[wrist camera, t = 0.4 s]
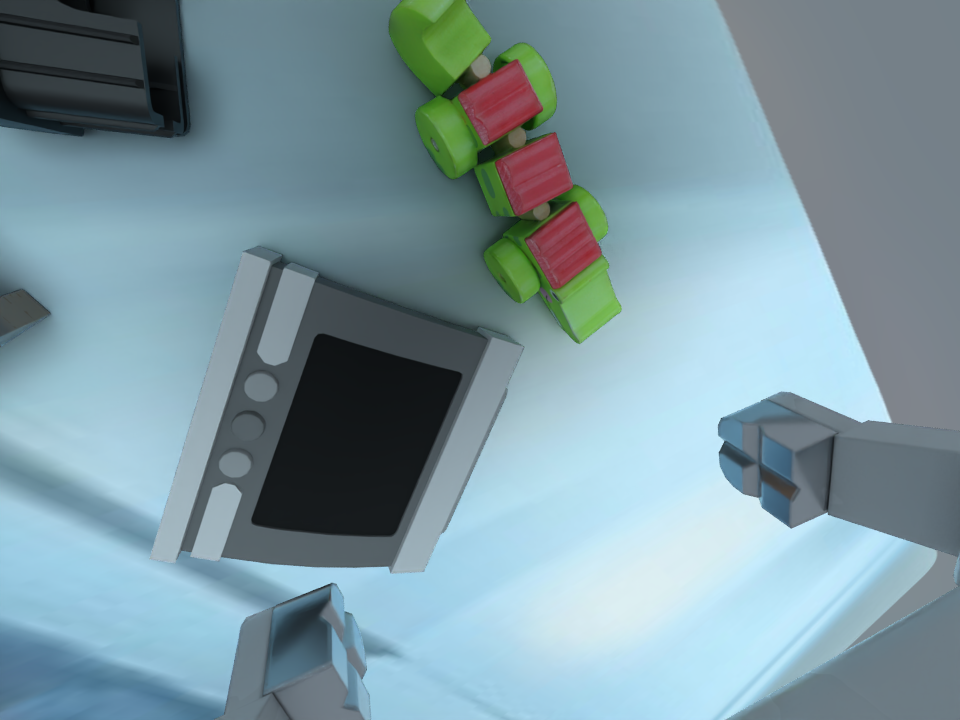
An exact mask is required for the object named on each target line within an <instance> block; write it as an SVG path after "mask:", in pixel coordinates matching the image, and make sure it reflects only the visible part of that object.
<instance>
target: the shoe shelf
mask: <svg viewBox="0 0 960 720" xmlns="http://www.w3.org/2000/svg"><path fill="white" fill-rule="evenodd" d="M49 315H50V313H49V312H48V311H47V310H46V309H45V308H44V307H42V306H41V305H40V304H39V303H38V302H37V301H36V300H35V299H33V298H32V297H31V296H30V295H29V294H28V293H27V292H25V291H24V290H23V289H22V290H18V291H15V292H12V293H9V294H6V295H3V296H0V347H1V346H3V345H4V344H6V343H7V342H9V341H10V340H12V339H13V338H15V337H16V336H18V335H19V334H21V333H23V332H24V331H26V330H27V329H29V328H30V327H32V326H33V325H35V324H36V323H38V322H39V321H41V320H42V319H44V318H46V317H47V316H49Z"/></svg>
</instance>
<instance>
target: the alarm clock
mask: <svg viewBox="0 0 960 720" xmlns="http://www.w3.org/2000/svg"><path fill="white" fill-rule="evenodd" d="M281 257H282V255H281V254H279V253H276V252H273V251H271V250H268V249H265V248H263V247H260V246H257V247H254V248H251V249H248V250H246V251H243V253H242V256H241V260H240V263H239V266H238V269H237V273H236V276H235V279H234V283H233V286H232V289H231V292H230V296H229V299H228V302H227V306H226V309H225V312H224V315H223V319H222V322H221V325H220V329H219V332H218V335H217V338H216V342H215V345H214V348H213V352H212V355H211V358H210V362H209V365H208V368H207V371H206V375H205V378H204V381H203V385H202V388H201V391H200V394H199V398H198V401H197V404H196V408H195V411H194V414H193V417H192V421H191V424H190V427H189V431H188V434H187V437H186V441H185V444H184V447H183V450H182V454H181V457H180V460H179V464H178V467H177V470H176V473H175V477H174V480H173V483H172V487H171V490H170V493H169V496H168V500H167V503H166V506H165V510H164V513H163V516H162V520H161V523H160V526H159V529H158V533H157V536H156V539H155V543H154V546H153V549H152V552H151V556H150V559H151V560H157V561H164V562H170V563H175V562H176V560H177V558H178V556H179V554H180V553H181V551H188V552H192V553H191V556H190V557H195V558H201V559H207V560H214V561H220V558H221V557H224V558H231V559H239V560H246V561H253V562H261V563H268V564H279V565H293V566H306V567H349V568H357V567H387V566H388V567H389V570H390V573H391V574H393V573H411V572H424V570H425V568H426V566H427V563H428V561H429V559H430V557H431V554H432V552H433V550H434V548H435V546H436V543H437V541H438V539H439V537H440V534H442V533H444V531H445V530H446V529H447V527H448V525H449V522H450V520H451V518H452V516H453V514H454V511H455V509H456V507H457V505H458V502H459V500H460V498H461V496H462V494H463V491H464V489H465V487H466V485H467V482H468V480H469V478H470V476H471V473H472V471H473V469H474V467H475V465H476V462H477V460H478V458H479V456H480V453H481V451H482V449H483V447H484V445H485V442H486V440H487V438H488V436H489V433H490V431H491V429H492V427H493V425H494V422H495V420H496V418H497V416H498V413H499V411H500V409H501V407H502V404H503V402H504V400H505V398H506V395H507V385H508V382H509V380H510V378H511V376H512V373H513V371H514V369H515V367H516V365H517V362H518V360H519V358H520V356H521V353H522V351H523V349H524V346H522V345H521V344H519V343H518V342H516V341H515V340H513V339H512V338H510V337H508V336H505V335H502V334H499V333H496V332H493V331H490V330H487V329H484V328H481V327H478V329H477V331H473V330H470V329H467V328H464V327H460V326H457V325H454V324H451V323H448V322H445V321H442V320H439V319H436V318H434V317H431V316H428V315H425V314H422V313H419V312H416V311H413V310H410V309H407V308H404V307H402V306H399V305H396V304H393V303H391V302H388V301H385V300H382V299H379V298H377V297H374V296H371V295H368V294H365V293H363V292H360V291H357V290H355V289H352V288H349V287H346V286H344V285H341V284H338V283H336V282H333V281H330V280H328V279H325V278H322V277H319V276H318V275H319V272H316V271H313V270H311V269H308V268H305V267H303V266H300V265H297V264H295V263H292V262H291V263H289V264H288V265H287V264H284V263H282V262H280V260H281Z"/></svg>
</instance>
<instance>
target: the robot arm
mask: <svg viewBox="0 0 960 720" xmlns="http://www.w3.org/2000/svg"><path fill="white" fill-rule="evenodd" d="M718 436H719V437H720V438H721V439H723V440H724V443H723V445H722V447H721V449H720V451H719V462H720V467H721V469H722V471H723V473H724V475H725V477H726V479H727V480H728V481H729V482H730V483H731V485H732V486H733V487H735V488H736V489H737V490H739V491H740V492H741V493H743V494H745V495H749V496H753V497H758V498H759V500H760V503H761V507H762V508H763V509H765V510H766V511H767V512H769V513H770V514H772V515H773V516H774V517H776V518H777V519H779V520H780V521H781V522H783V523H784V524H786V525H787V526H788V527H790V528H791V529H792V528H794V527H796V526H798V525H800V524H803V523H805V522H807V521H809V520H811V519H814V518H816V517H818V516H820V515H822V514H825V513H827V512H828V515H831V516H834V517H837V518H840V519H843V520H846V521H849V522H852V523H855V524H858V525H861V526H865V527H868V528H871V529H874V530H877V531H880V532H883V533H886V534H889V535H892V536H895V537H898V538H901V539H905V540H908V541H911V542H914V543H917V544H920V545H923V546H926V547H929V548H932V549H935V550H938V551H941V552H945V553H948V554H951V555H954V556H957V557H958V558H957V562H956V566H955V570H954V574H953V577H954V580H955V583H956V584H957V585H958V587H956V588H955V589H953V590H951V591H949V592H948V593H946V594H945V595H942V596H941V597H939V598H937V599H935V600H934V601H932V602H930V603H928V604H927V605H925V606H923V607H921V608H920V609H918V610H916V611H914V612H913V613H911V614H909V615H907V616H906V617H904V618H902V619H900V620H899V621H897V622H895V623H893V624H892V625H890V626H888V627H886V628H885V629H883V630H881V631H879V632H878V633H876V634H874V635H873V636H871V637H869V638H867V639H866V640H864V641H862V642H860V643H858V644H857V645H855V646H853V647H851V648H850V649H848V650H846V651H844V652H843V653H841V654H839V655H837V656H836V657H834V658H832V659H830V660H829V661H827V662H825V663H823V664H822V665H820V666H818V667H816V668H815V669H813V670H811V671H809V672H808V673H806V674H804V675H802V676H801V677H799V678H797V679H795V680H794V681H792V682H790V683H788V684H787V685H785V686H783V687H781V688H780V689H778V690H776V691H774V692H773V693H771V694H769V695H767V696H766V697H764V698H762V699H760V700H759V701H757V702H755V703H753V704H752V705H750V706H748V707H746V708H745V709H743V710H741V711H740V712H738V713H736V714H734V715H733V716H731V717H729V718H727V719H726V720H960V431H957V430H948V429H940V428H939V429H938V428H931V427H922V426H912V425H904V424H895V423H886V422H877V421H869V420H868V421H866V422H863V423H861V422H858V421H856V420H854V419H851V418H849V417H847V416H844V415H842V414H840V413H837V412H835V411H833V410H830V409H828V408H826V407H823V406H821V405H819V404H816V403H814V402H812V401H809V400H807V399H805V398H802V397H800V396H798V395H795V394H793V393H791V392H779V393H777V394H775V395H772V396H770V397H768V398H766V399H763V400H761V401H760V402H757V403H755V404H753V405H751V406H748V407H746V408H744V409H741V410H739V411H737V412H734V413H732V414H730V415H727V416H725V417H723V418H721V420H720V422H719V424H718ZM366 670H367V665H366V656H365V650H364V646H363V641H362V637H361V634H360V631H359V628H358V625H357V623H356V621H355V619H354V617H353V615H352V614H351V613H348V612H345V611H344V597H343V595H342V593H341V591H340V590H339V588H338V586H337V584H335V583H331V584H328V585H326V586H323V587H321V588H318V589H316V590H313V591H310V592H308V593H305V594H303V595H300V596H298V597H295V598H293V599H290V600H288V601H285V602H283V603H280V604H278V605H276V606H275V607H272V608H269V609H267V610H264V611H262V612H259V613H257V614H254V615H252V616H249V617H246V619H245V620H244V622H243V624H242V625H241V628H240V633H239V639H238V644H237V649H236V654H235V660H234V665H233V670H232V675H231V681H230V686H229V691H228V696H227V701H226V707H225V712H224V715H223V716H220V717H218V718H216V719H214V720H371V709H370V697H369V693H368V691H367V689H366V687H365V685H364V684H363V682H362V679H363V677H364V674H365V672H366Z"/></svg>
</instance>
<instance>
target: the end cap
mask: <svg viewBox="0 0 960 720" xmlns="http://www.w3.org/2000/svg"><path fill="white" fill-rule="evenodd" d="M0 126H2V127H9V128H16V129H24V130H31V131H39V132H47V133H55V134H64V135H73V136H83V134H84V129H83V128H87V129H96V130H104V131H113V132H122V133H131V134H140V135H149V136H158V137H167V138H172V137H174V136H177V137H178V136H185V135H186V134H187V133H188V132H189V130H190V116H189V106H188V95H187V85H186V75H185V65H184V55H183V45H182V34H181V24H180V14H179V4H178V0H0Z"/></svg>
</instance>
